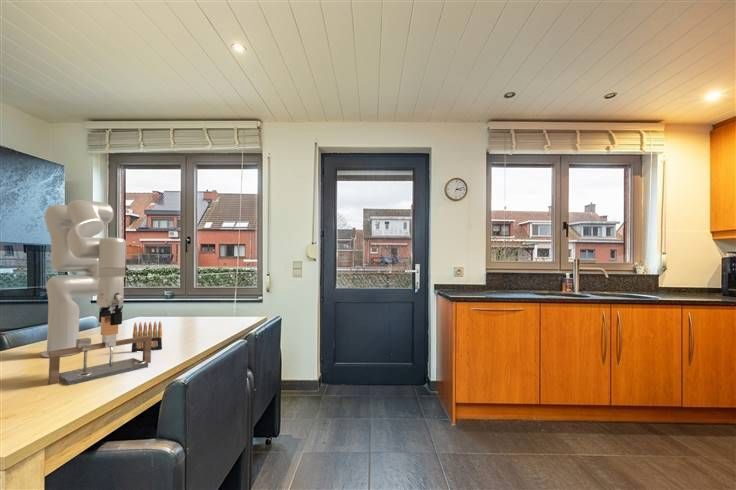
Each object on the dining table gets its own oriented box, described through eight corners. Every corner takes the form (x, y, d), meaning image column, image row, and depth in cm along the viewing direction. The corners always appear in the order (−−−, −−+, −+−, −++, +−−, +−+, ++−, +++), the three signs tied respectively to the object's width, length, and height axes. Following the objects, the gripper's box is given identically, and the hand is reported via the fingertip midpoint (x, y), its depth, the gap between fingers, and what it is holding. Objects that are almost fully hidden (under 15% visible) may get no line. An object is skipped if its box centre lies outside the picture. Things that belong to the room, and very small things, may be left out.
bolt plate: (56, 377, 110) (56, 373, 110) (135, 360, 129) (135, 357, 129) (68, 385, 103) (68, 380, 104) (150, 366, 122) (150, 362, 122)
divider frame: (46, 383, 105) (48, 343, 106) (148, 361, 128) (149, 328, 129) (51, 386, 103) (53, 345, 103) (153, 363, 126) (155, 330, 126)
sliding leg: (99, 365, 116) (101, 316, 117) (113, 363, 119) (115, 315, 120) (104, 368, 114) (106, 318, 114) (118, 365, 117) (120, 316, 118)
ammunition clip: (131, 352, 141) (132, 323, 141) (132, 351, 142) (133, 322, 143) (161, 349, 145) (162, 321, 146) (162, 348, 147) (162, 320, 148)
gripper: (89, 273, 120) (87, 322, 119) (108, 273, 110) (106, 327, 109) (114, 272, 126) (113, 319, 125) (135, 273, 116) (133, 324, 115)
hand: (110, 323), depth 117 cm, fingers open, 9 cm apart
